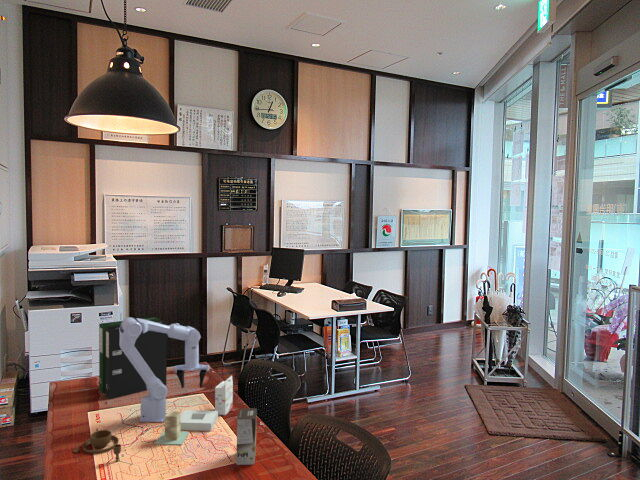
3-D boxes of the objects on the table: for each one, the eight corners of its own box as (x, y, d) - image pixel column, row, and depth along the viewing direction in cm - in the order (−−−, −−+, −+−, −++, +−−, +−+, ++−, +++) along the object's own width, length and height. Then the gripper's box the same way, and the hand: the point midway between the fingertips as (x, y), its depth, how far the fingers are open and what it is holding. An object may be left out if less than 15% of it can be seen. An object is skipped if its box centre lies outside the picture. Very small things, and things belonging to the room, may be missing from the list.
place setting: (129, 437, 181) (129, 421, 180) (122, 464, 161) (122, 447, 161) (78, 442, 176) (78, 426, 175) (65, 470, 157) (65, 453, 156)
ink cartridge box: (222, 406, 210) (222, 373, 209) (232, 407, 209) (233, 374, 208) (214, 414, 202) (214, 380, 201) (225, 415, 201) (225, 381, 200)
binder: (155, 378, 243) (155, 316, 241) (167, 386, 232) (168, 321, 230) (99, 390, 225) (99, 323, 223) (109, 400, 214) (109, 329, 212)
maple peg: (164, 439, 177) (164, 416, 177) (168, 434, 182) (168, 411, 181) (176, 440, 177) (176, 416, 177) (180, 434, 182) (180, 411, 181)
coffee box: (254, 464, 162) (255, 419, 161) (235, 465, 161) (236, 419, 161) (256, 451, 171) (257, 407, 170) (238, 451, 171) (239, 408, 170)
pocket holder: (175, 429, 186) (175, 422, 186) (184, 416, 198) (184, 409, 198) (211, 430, 186) (211, 423, 186) (217, 417, 198) (218, 410, 198)
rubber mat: (154, 444, 174) (154, 443, 174) (163, 431, 184) (163, 430, 184) (181, 445, 174) (181, 444, 174) (189, 432, 184) (189, 431, 184)
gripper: (172, 359, 199) (172, 390, 200) (207, 358, 200) (207, 390, 200) (176, 354, 206) (176, 384, 207) (210, 353, 207) (210, 384, 207)
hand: (192, 387), depth 204 cm, fingers open, 7 cm apart
